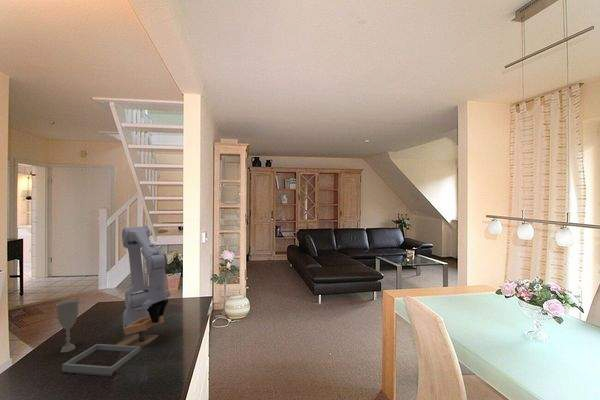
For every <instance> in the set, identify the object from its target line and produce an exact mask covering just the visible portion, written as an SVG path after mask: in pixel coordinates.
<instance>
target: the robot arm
mask: <svg viewBox="0 0 600 400" xmlns="http://www.w3.org/2000/svg"><path fill="white" fill-rule="evenodd" d="M121 237H122V238H121V241H122V245H123V248H126V249H127V253H128V260H129V261H128V262H129V271H130V279H131V280H130V281H131V286H130V287H129V288H128V289H127V290H126V291H125V292H124V294H125V295H124V305H125V309H124V312H123V313H122V328H125V327H127V326H128V325H130V324H132V323H134V322H135V321H137V320H139V319H141V318H145V317H149V316H150V317H151V320H152V323H158V320H159V316H161V315H163V316H164V313H165V310H166V307H167V305H168V303H169V297H170V296H171V291H169V290H168V291H166V268H167V267H168V256H167V255H166V253H164V252H160V250H159V248H158V247H157V245H156V244H155V243H152V242H151V240H150V237H151V230H150V227H149V226H147V225H145V226H135V227H124V228H123V229H122V231H121ZM142 256H143V258H144V260H145V267H146V275H147V276H148V277H147V278H148V279H147V280H148V281H147V282H148V284H146V283H145V278H144V271H143V260H142Z"/></svg>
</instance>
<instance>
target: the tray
mask: <svg viewBox="0 0 600 400" xmlns="http://www.w3.org/2000/svg"><path fill="white" fill-rule="evenodd" d="M98 350H99V351H114V352H129V353H128V354H126V355H125V356H124V357H123V358H121V359H119V360H118V361H117V362H116V363H114V364H112V366H106V365H92V364H81V363H80V364H77V363H78V362H79V361H81V360H82V359H84V358H86V357H88V356H89V355H91V354H93V353H94V352H96V351H98ZM141 350H142V348H141V347H140V346H124V345H116V344H108V343H106V344H105V343H104V344H103V343H96V344H94V345H93V346H91V347H89V348H87V349H85V351H82V352H81V353H80V354H77V355H75V356H74V357H72V358H70V359H69V360H68V361H65V362H64V363H62V364H61V373H62V372H67V373H66V374H72V373H76V374H75V375H85V376H97V377H110V378H111V377H113V376H114V375H116V373H117V372H116V371H117V370H118V369H119V368H121V367H122V366H123V365H125V364H126V363H127V362H129V361H130V360H131V359H133V358H134V357H135V356H137V355H138V354H139V353H140V352H142V351H141Z"/></svg>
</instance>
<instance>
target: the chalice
mask: <svg viewBox="0 0 600 400" xmlns="http://www.w3.org/2000/svg"><path fill="white" fill-rule="evenodd" d="M79 303H80V299H67V300H63V301H60V302H57V303H56V304H55V307H56V313H57V314H56V315H57V321H58V323H59V324H60V326H61V327H62V329H65V330H66V332H65V333H64V334H65V335H66V337H65V338H64V340H65V341H66V343H65V344H64V345H63V346H62V348H61V350H60V352H59V353H68V352H71V351H73V350H75V349H76V346H75V344H74V343H71V342H70V341H71V339H72V337H71V336H70V335H71V331H70V329H71V328H73V327H74V324H75V322H76V321H77V318H78V317H79V316H78V315H79Z"/></svg>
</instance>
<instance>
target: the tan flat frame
mask: <svg viewBox="0 0 600 400" xmlns="http://www.w3.org/2000/svg"><path fill="white" fill-rule="evenodd" d="M164 322H165V317H164V314H163V315H161V316H159V320H158V323H152V320H151V317H150V315H149V317H145V318H141V319H139V320H137V321H135V322H134V323H132V324H130V325H128V326H127V327H125V328H123V327H122V328H123V333H124V336H126V335H127V336H129V335H131V334H137V333H139V332H140V331H144V330H145V331H147V330H148V329H150V328H151V327H152V326H153V327H154V326H157V325H161V324H163V323H164Z"/></svg>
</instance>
